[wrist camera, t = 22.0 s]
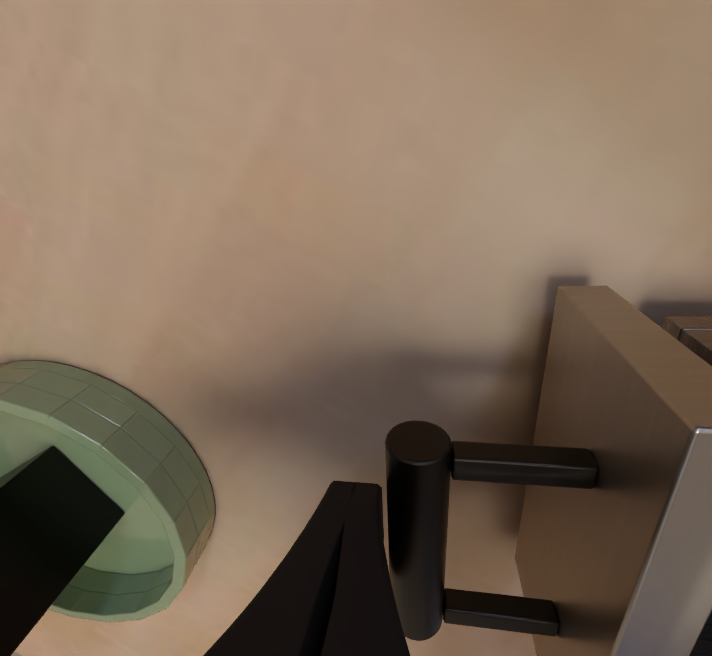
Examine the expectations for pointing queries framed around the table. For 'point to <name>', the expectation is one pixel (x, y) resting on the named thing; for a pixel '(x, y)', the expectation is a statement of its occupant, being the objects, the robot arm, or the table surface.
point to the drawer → (580, 493)
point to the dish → (113, 484)
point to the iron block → (45, 537)
